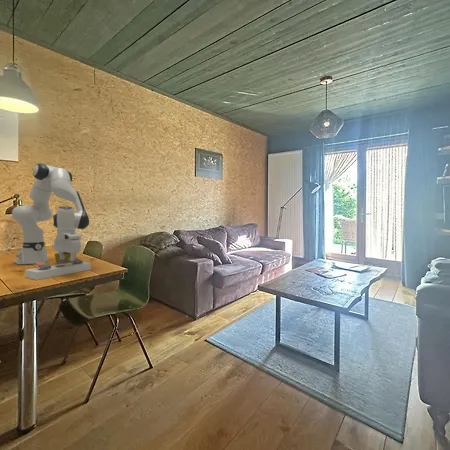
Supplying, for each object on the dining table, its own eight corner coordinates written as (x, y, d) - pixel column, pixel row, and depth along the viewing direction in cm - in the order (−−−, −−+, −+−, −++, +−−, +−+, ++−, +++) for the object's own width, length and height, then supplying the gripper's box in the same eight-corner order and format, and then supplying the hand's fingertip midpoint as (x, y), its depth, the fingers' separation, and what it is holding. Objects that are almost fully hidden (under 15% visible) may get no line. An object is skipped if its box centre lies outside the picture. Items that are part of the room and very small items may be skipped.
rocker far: (68, 259, 159) (68, 257, 159) (75, 258, 163) (75, 257, 163) (76, 264, 155) (76, 262, 155) (82, 262, 159) (82, 261, 159)
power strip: (25, 277, 141) (24, 269, 141) (84, 266, 170) (84, 259, 170) (36, 280, 135) (36, 271, 135) (96, 268, 165) (96, 261, 164)
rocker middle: (52, 265, 151) (52, 263, 151) (60, 264, 155) (59, 262, 155) (60, 263, 147) (60, 261, 148) (67, 262, 151) (67, 260, 151)
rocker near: (35, 264, 144) (35, 262, 143) (43, 263, 147) (43, 261, 147) (42, 269, 140) (42, 267, 140) (50, 268, 143) (50, 266, 143)
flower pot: (66, 268, 165) (66, 254, 164) (54, 267, 166) (54, 253, 166) (76, 265, 173) (76, 252, 173) (65, 265, 175) (65, 251, 175)
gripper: (50, 235, 150) (51, 259, 150) (71, 236, 139) (71, 262, 140) (61, 234, 155) (62, 257, 156) (82, 235, 145) (83, 260, 146)
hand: (67, 259), depth 148 cm, fingers open, 8 cm apart
